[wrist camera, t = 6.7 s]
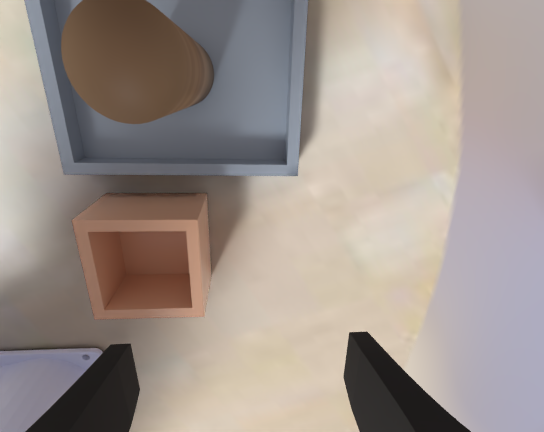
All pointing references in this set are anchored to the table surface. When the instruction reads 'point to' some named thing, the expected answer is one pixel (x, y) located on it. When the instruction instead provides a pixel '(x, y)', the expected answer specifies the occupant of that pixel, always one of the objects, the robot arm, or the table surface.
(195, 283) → the hollow square block
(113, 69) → the dowel
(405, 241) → the table surface
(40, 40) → the tray
